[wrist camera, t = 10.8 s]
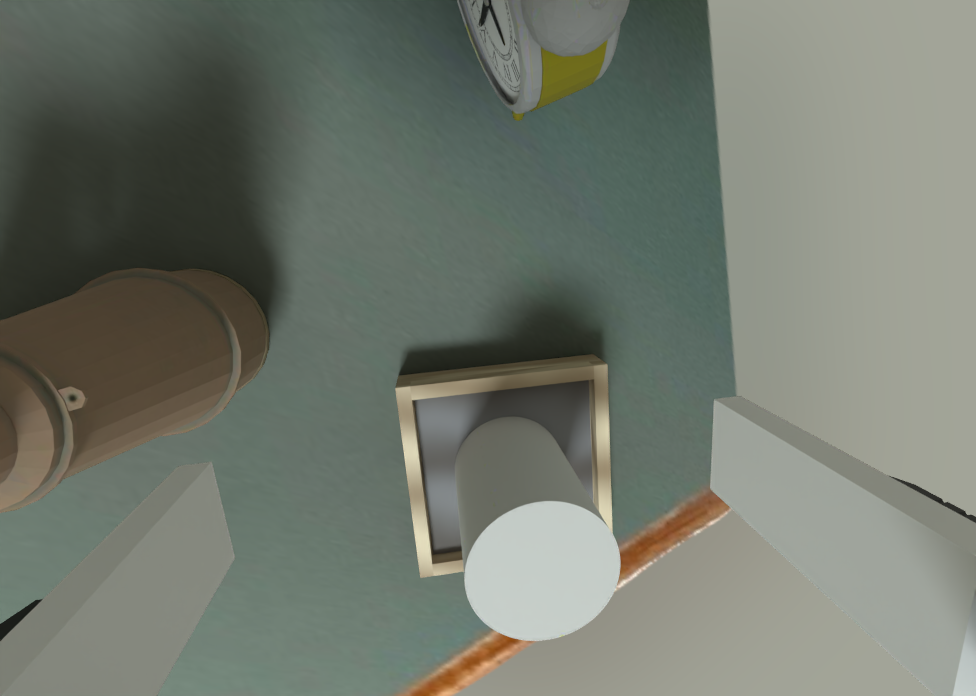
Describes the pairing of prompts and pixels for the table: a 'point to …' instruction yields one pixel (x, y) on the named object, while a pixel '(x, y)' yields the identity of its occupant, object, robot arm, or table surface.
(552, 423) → the square picture frame
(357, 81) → the table surface
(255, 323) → the binoculars
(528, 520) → the white cylinder
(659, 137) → the table surface
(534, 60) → the alarm clock
